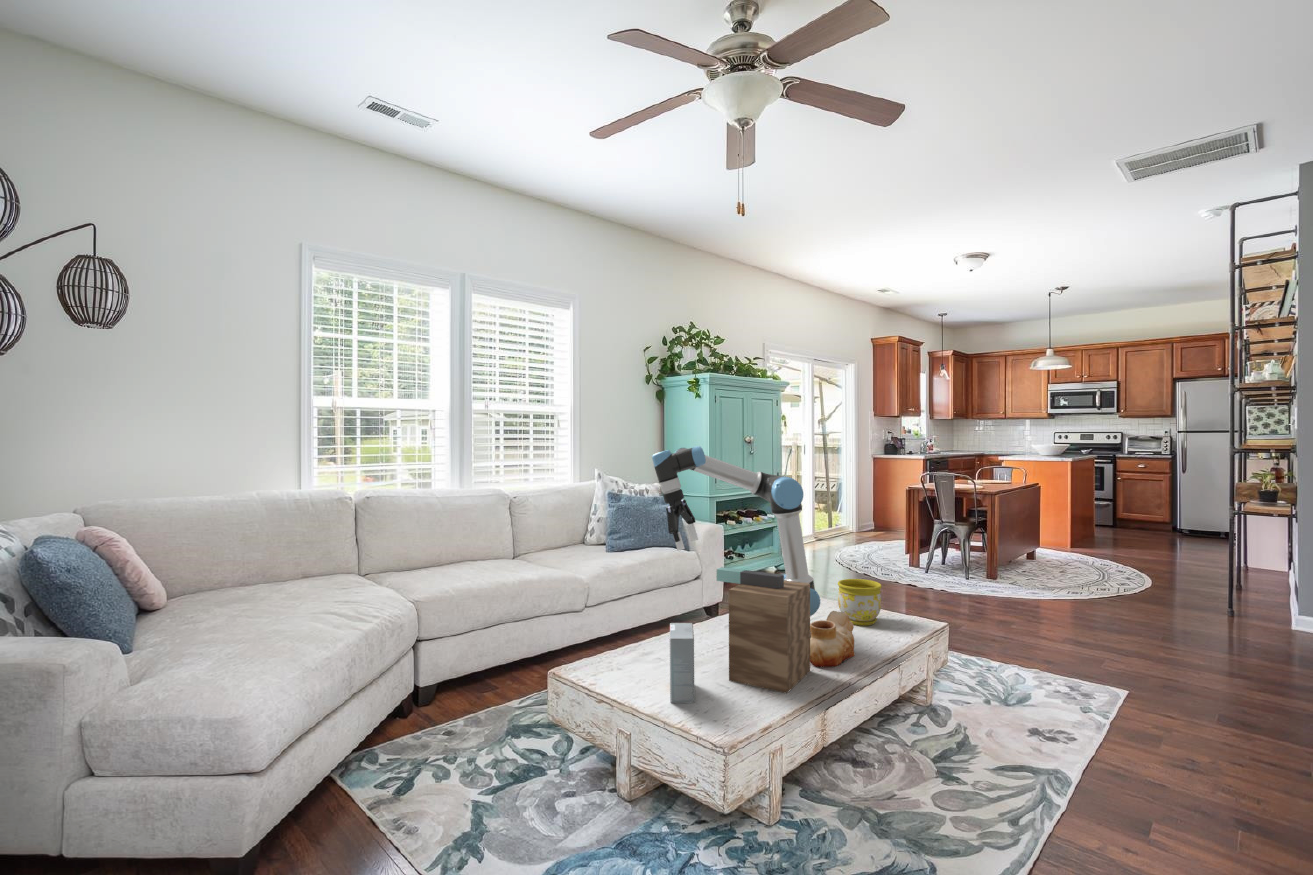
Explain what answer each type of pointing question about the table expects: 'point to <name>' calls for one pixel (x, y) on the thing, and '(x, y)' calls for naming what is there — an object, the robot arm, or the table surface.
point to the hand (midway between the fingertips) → (688, 545)
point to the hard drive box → (681, 663)
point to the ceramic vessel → (831, 640)
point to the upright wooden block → (769, 635)
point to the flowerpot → (860, 600)
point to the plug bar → (750, 578)
